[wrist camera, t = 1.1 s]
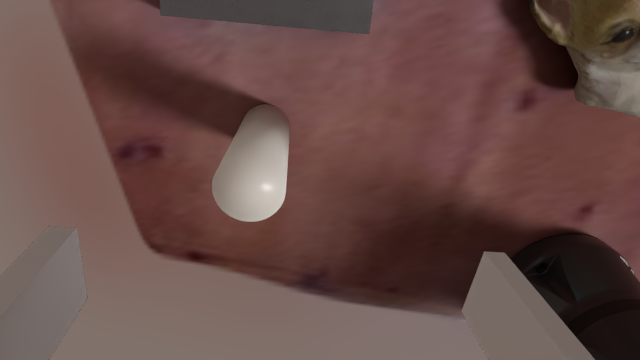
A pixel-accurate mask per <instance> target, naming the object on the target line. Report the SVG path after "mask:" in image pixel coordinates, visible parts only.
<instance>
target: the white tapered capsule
mask: <svg viewBox="0 0 640 360" xmlns="http://www.w3.org/2000/svg"><path fill="white" fill-rule="evenodd" d="M289 135H290V124H289V120H288V118H287V116H286V115H285V113H284V112H283V111H282V110H281V109H279V108H278V107H276V106H273V105H269V104H262V105H257V106H255V107H253V108H252V109H250V110H249V111H248V112H247V114H246V115H245V117H244V119H243V121H242V123H241V125H240V127H239V128H238V130H237V132H236V134H235V136H234V138H233V140H232V142H231V144H230V146H229V148H228V150H227V152H226V154H225V155H224V157H223V159H222V161H221V163H220V165H219V167H218V169H217V171H216V173H215V175H214V178H213V182H212V192H213V196H214V199H215V201H216V203H217V205H218V206H219V207H220V208H221V209H222V211H224V212H225V213H226V214H227V215H229V216H231V217H233V218H235V219H237V220H241V221H247V222H255V221H260V220H264V219H266V218H268V217H270V216H272V215H273V214H274V213H276V212H277V211H278V209H279V208H280V207H281V205H282V204H283V201H284V199H285V194H286V181H287V166H288V151H289Z"/></svg>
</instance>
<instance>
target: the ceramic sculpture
mask: <svg viewBox="0 0 640 360" xmlns="http://www.w3.org/2000/svg"><path fill="white" fill-rule="evenodd" d="M528 1H529V4H530V11H531V13H532V15H533V17H534V18H535V20H536V21H537V23H538V26H539V27H540V28H541V30H542V31H544V32H545V34H546V35H547V37H548V38H550V39H551V40H552V41H554V42H555V43H557V44H559V45H563V46H565V47H566V48H567V51H568V52H569V54H570V56H571V58H572V61H573V63H574V66H575V68H576V70H577V72H578V81H577V84H576V86H575V90H574V93H575V98H576V100H577V101H579V102H581V103H584V104H586V105H590V106H596V107H601V108H606V109H610V110H614V111H618V112H621V113H625V114H628V115H632V116H635V117H640V0H528Z"/></svg>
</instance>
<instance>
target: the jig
mask: <svg viewBox="0 0 640 360" xmlns="http://www.w3.org/2000/svg"><path fill="white" fill-rule="evenodd" d="M372 8H373V0H160V14H161V15H162V16H174V17H185V18H196V19H207V20H218V21H229V22H240V23H251V24H262V25H273V26H284V27H295V28H306V29H318V30H329V31H340V32H351V33H362V34H369V32H370V24H371V16H372Z"/></svg>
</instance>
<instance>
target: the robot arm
mask: <svg viewBox="0 0 640 360" xmlns="http://www.w3.org/2000/svg"><path fill="white" fill-rule="evenodd" d="M87 298H88V297H87V291H86V285H85V278H84V271H83V265H82V259H81V253H80V247H79V241H78V234H77V228H73V227H56V226H49V227H47V228H46V229H45V231H43V233H42V234H41V235H40V236H39V237H38V238H37V239H36V240H35V241H34V242H33V243H32V244H31V245H30V246H29V247H28V248H27V249H26V250H25V251H24V252H23V253H22V254H21V255H20V256H19V257H18V258H17V259H16V260H15V261H14V262H13V263H12V264H11V266H9V268H7V269H6V271H5V272H4V273H3V274H2V275H1V276H0V360H50V358H51V357H52V355H53V353H54V352H55V350H56V348H57V347H58V345H59V344H60V342H61V340H62V339H63V337H64V336H65V334H66V332H67V331H68V329H69V328H70V326H71V324H72V323H73V321H74V319H75V318H76V316H77V314H78V313H79V312H80V310H81V308H82V307H83V305H84V303H85V302H86V300H87ZM461 312H462V313H463V315H464V317H465V319H466V321H467V322H468V324H469V326H470V328H471V329H472V331H473V333H474V335H475V337H476V339H477V340H478V342H479V344H480V346H481V347H482V349H483V351H484V353H485V354H486V356H487V358H488V360H640V282H639V281H638V279H637V278H636V277H635V275H634V272H633V270H632V269H631V267H630V265H629V264H628V262H627V261H626V260H625V259H624V258H623V257H622V256H621V255H620V254H619V253H618V252H617V251H615V250H614V249H613V248H611V247H610V246H609V245H607V244H606V243H604V242H603V241H601V240H599V239H597V238H595V237H592V236H588V235H583V234H563V235H557V236H553V237H549V238H546V239H543V240H541V241H538V242H536V243H534V244H532V245H530V246H529V247H527V248H525V249H524V250H522V251H521V252H520V253H518V254H517V255H516V256H515V257H513V258H512V259H511V260H510V258H509V257H508V256H507V255H506V254H505V253H502V252H485V251H484V253H483V256H482V258H481V261H480V264H479V266H478V269H477V272H476V274H475V277H474V279H473V282H472V285H471V287H470V290H469V293H468V295H467V298H466V300H465V303H464V306H463V308H462V311H461Z"/></svg>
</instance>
